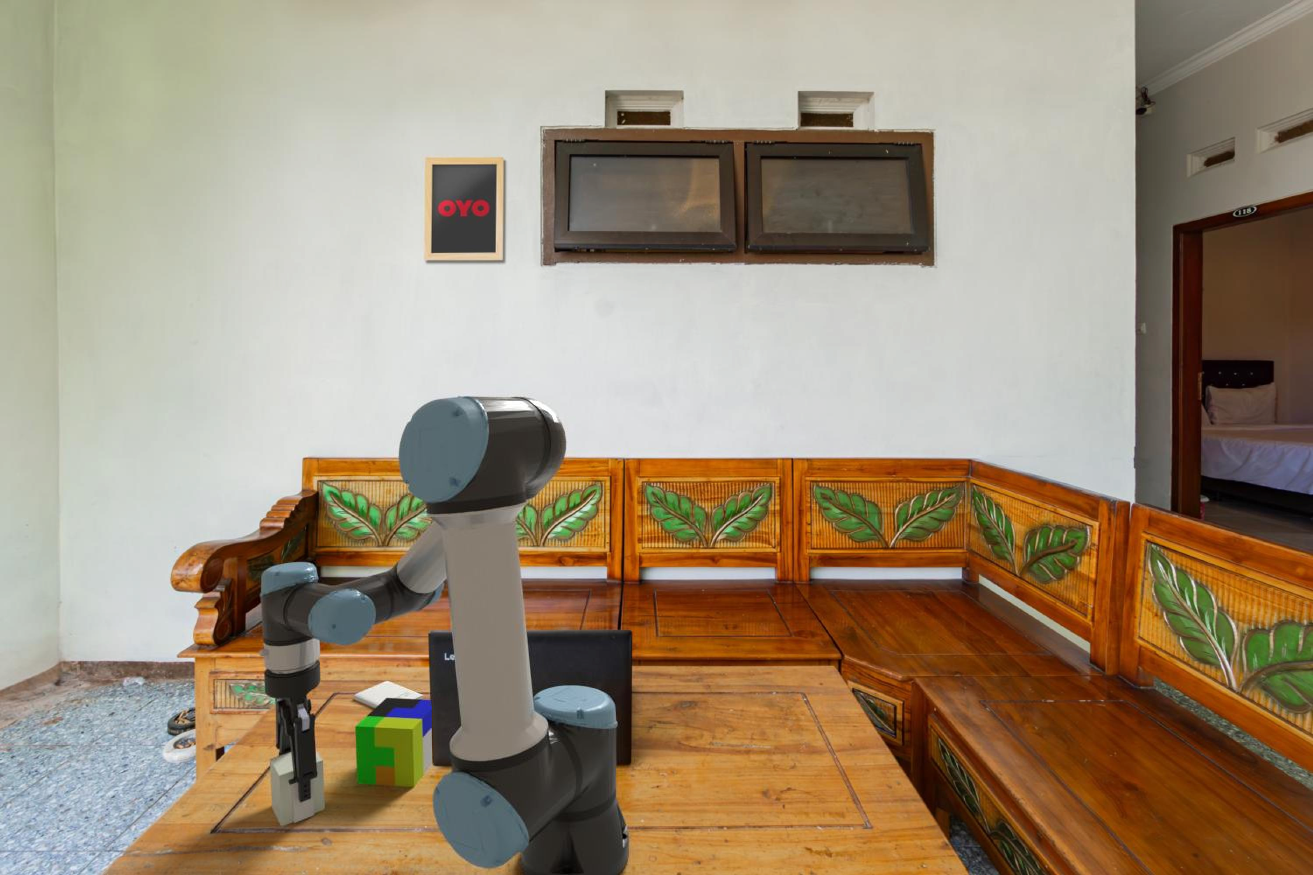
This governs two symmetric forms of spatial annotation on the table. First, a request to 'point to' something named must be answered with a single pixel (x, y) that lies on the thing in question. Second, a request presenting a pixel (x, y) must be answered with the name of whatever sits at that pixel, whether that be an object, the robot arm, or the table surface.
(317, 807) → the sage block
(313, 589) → the robot arm
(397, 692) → the external hard drive
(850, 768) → the table surface
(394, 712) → the puzzle toy
